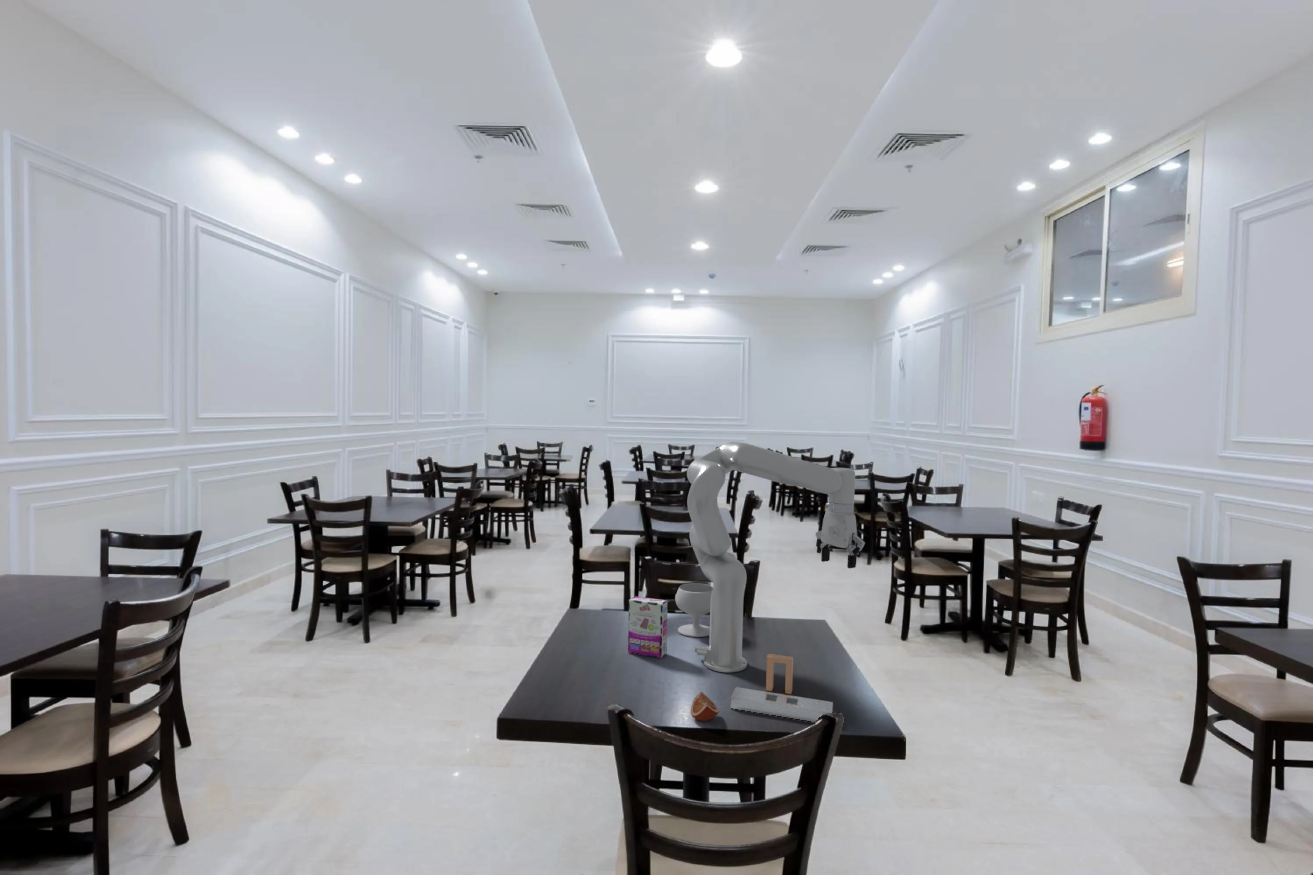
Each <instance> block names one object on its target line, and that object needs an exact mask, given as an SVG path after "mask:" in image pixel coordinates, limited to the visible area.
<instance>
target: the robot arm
mask: <svg viewBox="0 0 1313 875" xmlns="http://www.w3.org/2000/svg"><path fill="white" fill-rule="evenodd" d="M732 471H737V472H740V473H743V474H747V475H750V476H753V477H758V478H761V479H765V480H768V481H771V482H775V483H780V484H784V485H790V486H791V485H792V486H797V487H801V488H805V489H808V490H810V491H812V492H817V493H821V494H825V495H828V501H827V502H826V503H825V507H826V508H827V510H826V511H824V512H825V514H824V517H823V519H822V527H821V530H819V531H817V532H815V536H816V537H815V538H817V543H818V544H819V548H820V549H821V554H820V555H821V558H820V560H821V562H822V563H824V562H829V561H830V558H831V557H830V556H831V547H830V546H832V547H837V548H842V549H846V550H847V552H848V555H847V563H846V564H847V565H846V567H847V568H848V569H855V568H856V567H857V557H858V555H859V553H860V552H861V551H862V550H863V548H864V546H865V544H866V542H865V541H864V540H863V539H862V538H860V537H859V536H858V533H857V532H858V531H857V529H858V528H857V518H856V515H855V514H854V510H855V509H854V508H855V488H856V487H855V486H856V471H855V470H854V469H852V468H848V467H847V468H846V467H833V468H831V467H828V466H824V465H820V464H817V463H813V462H811V461H807V460H802V459H800V458H797V457H794V456H790V455H787V454H784V453H781V452H778V451H774V450H771V449H768V448H764V447H760V446H757V445H753V444H750V443H746V442H739V441H729V442H727V443H724V444H723V445H720V446H719V447H717V448H715V449H713V450H711V451H710V452H707V453H705V454H703V455H702V456H700V457H698V458H696V459H695V460H693V461H692V462H691V463H689V466H688V467H687V472H686V477H687V481H688V482H689V483H690V488H689V491H688V495H687V501H686V502H687V503H686V504H687V511H688V513H689V517H690V520H691V523H692V525H691V527H690V530H689V540H690V544H691V547H692V549H693V552H694V554H695V557H696V559H697V563H698V564H699V567H700V569H701V572H702V573H703V574H704V576H705V577H706V578H707V579H708V580H709V581H710V582H711V583H712V584H713V585H712V587H713V590H712V594H711V601H710V612H709V627H710V635H709V640H708V642H709V644H708V645H706V646H701V645H695V647H694V652H695V653H696V656H704V657H703V665H704V666H705V667H706V668H708V669H709V670H712V671H715V672H720V673H737V672H742V671H744V670H745V669H746V668H747V666H748V662H747V661H748V660H747V659H745V657H743V627H744V626H743V625H744V624H743V623H744V622H743V620H744V597H745V591H746V587H747V586H746V584H747V579H748V578H747V571H746V567H745V566H744V565H743V564H742V562H741V561H740V560H738V558H736V557H734V556H732V555H730V554H729V553H728V551H729V549H730V546H731V537H730V535H729V531H728V529H727V528H726V525H725V522H724V520H723V516H722V515H721V511H720V508H719V505H718V496H719V493H720V491H721V489H722V488H723V487H724V485H725V482H726V475H728V474H729V473H730V472H732Z"/></svg>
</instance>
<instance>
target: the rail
mask: <svg viewBox="0 0 1313 875" xmlns="http://www.w3.org/2000/svg"><path fill="white" fill-rule="evenodd" d="M731 708H733V709H732V710H735V709H738V710H737V711H741V710H745V711H744V712H747V711H751V712H750V713H753V712H757V713H756V714H759V713H764V714H763V715H765V714H769V715H768V716H771V715H776V716H775V717H777V716H782V717H781V718H783V717H789V718H794V719H793V720H795V719H800V720H799V721H801V720H807V721H811V722H810V723H812V724H813V723H814V722H815V721H816V720H818V718H819V717H821V716H822V715H823V714H826V713H832V712H834V701H829V700H821V699H816V698H809V697H802V696H795V695H791V694H785V693H777V692H776V693H775V692H772V691H764V690H757V689H753V688H752V689H750V688H744V687H739V686H736V687H735V688H734V689H733V692H732V694H731V696H730V709H731ZM789 718H788V719H789ZM807 721H806V722H807ZM814 724H815V723H814Z"/></svg>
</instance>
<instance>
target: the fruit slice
mask: <svg viewBox="0 0 1313 875" xmlns="http://www.w3.org/2000/svg"><path fill="white" fill-rule="evenodd" d="M719 713H720V709H719V708H718V706H717V705H716V704H715V703H714V700H712V699H711V698H710V697H709V696H707V695H706V693H704V692H702V691H699V693H698V694H697V695H696V696H695V697H694V698H693V701H692V703H691V707H690V715H691V716H692V718H694V719H695V720H697V721H700V720H701V722H707V721H710V720H712V719H714V718H715V717H717V715H718V714H719Z"/></svg>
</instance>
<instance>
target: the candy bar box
mask: <svg viewBox="0 0 1313 875" xmlns="http://www.w3.org/2000/svg"><path fill="white" fill-rule="evenodd" d="M668 603H669V602H668V600H664V599H661V598H660V599H658V598H651V597H643V596H637V595H635V596H633V597H632V598H630V599H628V629H627V633H628V636H627V639H628V640H627V641H628V642H627V644H628V645H627V652H629V654H632V653H636V654H635V655H637V654H640V655H639V656H643V655H645V656H644V657H649V656H650V657H649V658H655V657H656V658H655V659H662V658H663V657H664V656H665V654H666V655H667V653H668Z"/></svg>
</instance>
